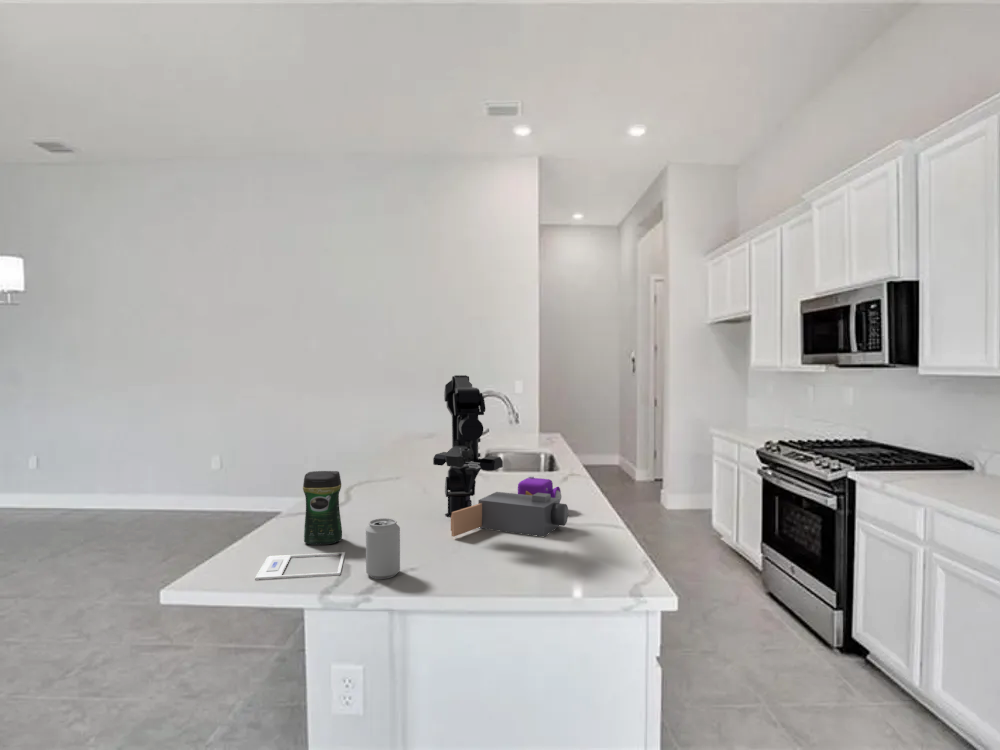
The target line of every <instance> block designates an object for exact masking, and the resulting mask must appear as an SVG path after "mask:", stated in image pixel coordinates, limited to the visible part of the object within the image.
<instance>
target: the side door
mask: <svg viewBox="0 0 1000 750" xmlns="http://www.w3.org/2000/svg"><path fill="white" fill-rule="evenodd" d="M479 527H482V504H481V503H479V504H478V503H477V504H474V505H472V506H470V507H467V508H464V509H461V510H457V511H454V512H452V516H450V531H451V537H457V536H460V535H462V534H466V533H468V532H470V531H474V530H476V529H480V528H479Z"/></svg>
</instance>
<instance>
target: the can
mask: <svg viewBox="0 0 1000 750" xmlns="http://www.w3.org/2000/svg"><path fill="white" fill-rule="evenodd" d="M397 523H398V521H397V519H395V518H389V517H386V518H375V519H371V520H370V521H368V526H367V527H366V528H365V572H366V574H368V575H369V577H370V578H372V579H378V580H384V579H391V578H393V577H395V576H396V575H397V574H398V573H399V572H400V571H401V527H400V526H399V525H398V524H397Z"/></svg>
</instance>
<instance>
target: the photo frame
mask: <svg viewBox="0 0 1000 750" xmlns="http://www.w3.org/2000/svg"><path fill="white" fill-rule="evenodd" d="M339 555H340V560H339V563H338V567H337V571H334V572H333V571H332V572H314V573H299V574H284V573H283V572H285V571H284V570H286V569H285V568H287V567H288V565H287V564H289V563H288V562H290V561H291V559H294V557H299V558H315V556H318V557H331V556H332V557H333V556H339ZM345 555H346V551H344V552H343V551H342V552H321V553H319V552H318V553H303V554H301V553H300V554H286V555H285V554H282V555H268V556H267V557H266V559H265V560H264V561H263V563H262V565H261V567H260V569H259V571H258V572H257V573H256V575H255V577H254V580H255V581H260V580H259V579H265V580H273V579H272V578H282V579H287V578H286V577H299V578H311V577H312V576H315V577H327V576H328V577H329V576H331V577H332V576H340V575H341V573H342V567H343V564H344V560H345V557H346V556H345ZM290 558H291V559H290ZM289 560H290V561H289ZM286 566H287V567H286ZM282 574H283V575H282ZM308 576H309V577H308ZM312 578H313V577H312Z"/></svg>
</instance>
